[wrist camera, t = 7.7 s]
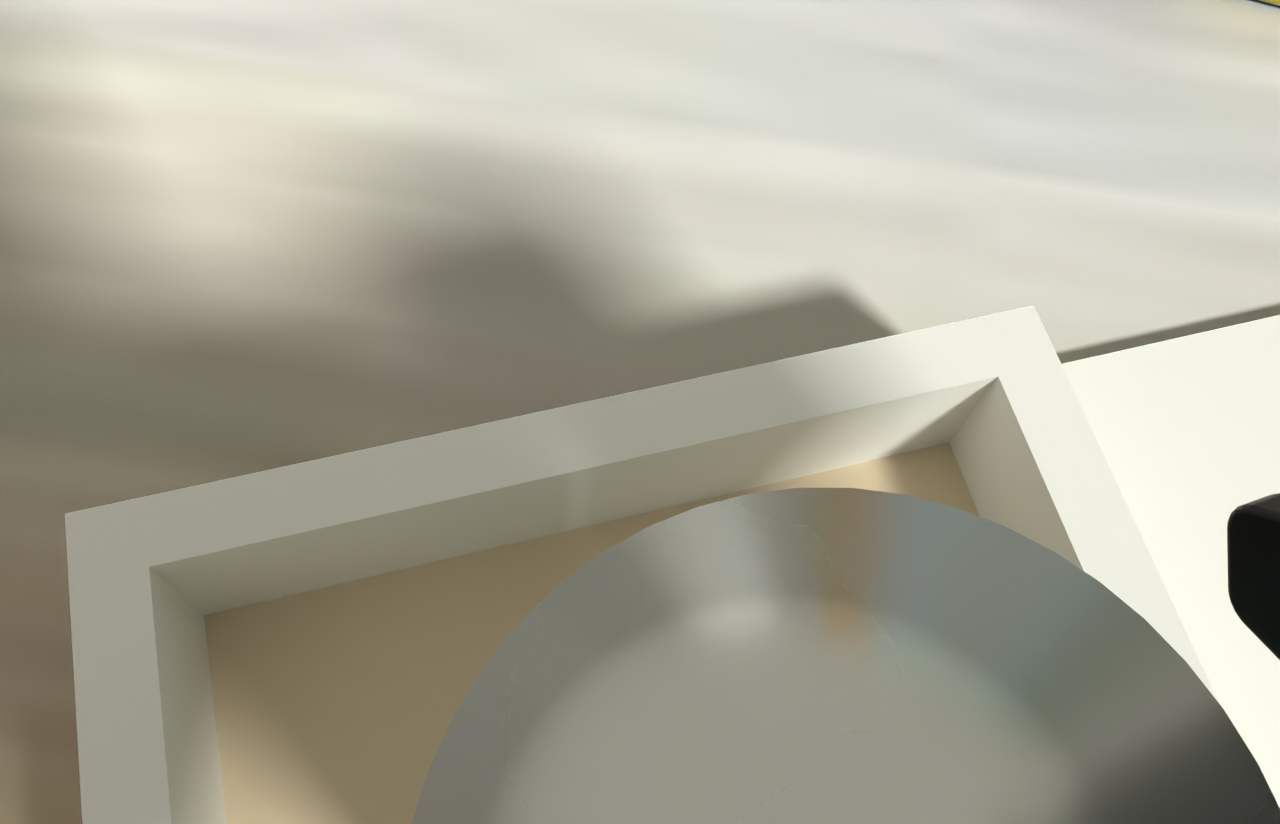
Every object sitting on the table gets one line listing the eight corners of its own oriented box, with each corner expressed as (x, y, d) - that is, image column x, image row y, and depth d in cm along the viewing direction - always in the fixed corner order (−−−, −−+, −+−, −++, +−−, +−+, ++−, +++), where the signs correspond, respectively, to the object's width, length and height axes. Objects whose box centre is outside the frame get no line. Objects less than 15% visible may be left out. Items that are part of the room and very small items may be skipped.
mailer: (2246, 1031, 16) (2579, 1049, 14) (248, 1814, 12) (153, 2067, 9) (1655, 238, 22) (1806, 138, 19) (143, 579, 18) (64, 513, 15)
